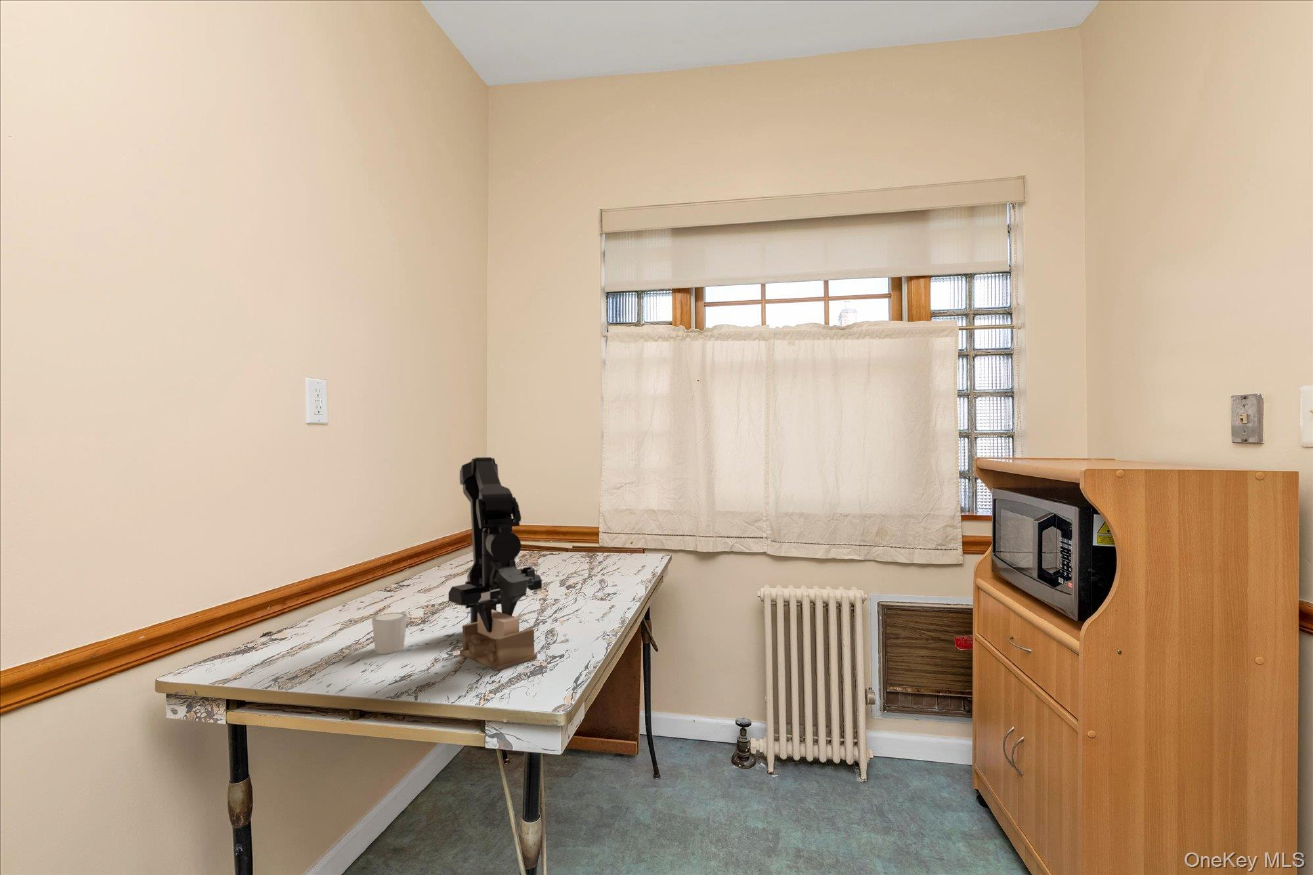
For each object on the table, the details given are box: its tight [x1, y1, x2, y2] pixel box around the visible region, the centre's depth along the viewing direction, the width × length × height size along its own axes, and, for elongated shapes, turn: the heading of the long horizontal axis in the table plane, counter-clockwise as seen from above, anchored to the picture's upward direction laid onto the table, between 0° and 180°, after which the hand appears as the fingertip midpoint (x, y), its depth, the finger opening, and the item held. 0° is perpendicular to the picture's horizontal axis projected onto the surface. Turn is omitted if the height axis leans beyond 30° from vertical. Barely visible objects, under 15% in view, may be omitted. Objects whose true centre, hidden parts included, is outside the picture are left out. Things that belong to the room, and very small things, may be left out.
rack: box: [459, 622, 538, 672], centre depth 123 cm, size 14×9×6 cm, turn 47°
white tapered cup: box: [371, 612, 408, 655], centre depth 128 cm, size 7×7×7 cm
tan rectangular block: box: [477, 610, 520, 639], centre depth 123 cm, size 10×4×4 cm, turn 47°
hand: (497, 629), depth 123 cm, fingers closed on tan rectangular block, 3 cm apart
